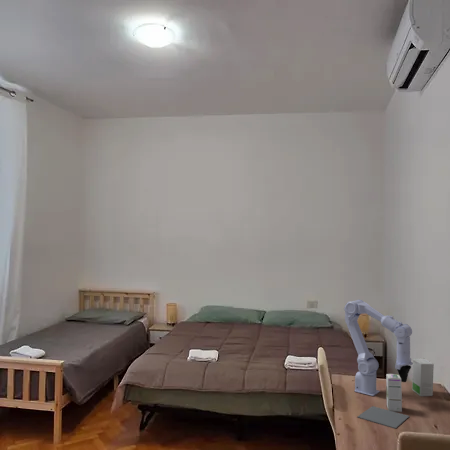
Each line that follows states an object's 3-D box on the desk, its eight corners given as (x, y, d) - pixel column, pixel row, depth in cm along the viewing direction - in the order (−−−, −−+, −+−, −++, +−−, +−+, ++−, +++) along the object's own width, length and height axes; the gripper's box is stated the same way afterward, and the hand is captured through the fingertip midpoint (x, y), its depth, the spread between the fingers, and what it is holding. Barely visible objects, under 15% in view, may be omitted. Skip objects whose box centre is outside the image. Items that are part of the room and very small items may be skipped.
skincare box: (411, 390, 221) (411, 358, 221) (424, 389, 222) (424, 358, 222) (420, 396, 213) (420, 363, 213) (434, 396, 213) (434, 363, 213)
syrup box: (402, 412, 195) (402, 378, 195) (387, 411, 196) (387, 377, 196) (400, 407, 200) (399, 374, 200) (385, 406, 201) (385, 373, 202)
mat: (357, 417, 189) (357, 416, 189) (372, 406, 200) (372, 406, 200) (395, 428, 179) (395, 427, 179) (409, 416, 190) (409, 415, 190)
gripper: (406, 356, 199) (406, 387, 198) (417, 350, 209) (418, 379, 209) (390, 353, 203) (390, 384, 203) (402, 347, 214) (402, 376, 214)
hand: (403, 381), depth 206 cm, fingers closed
